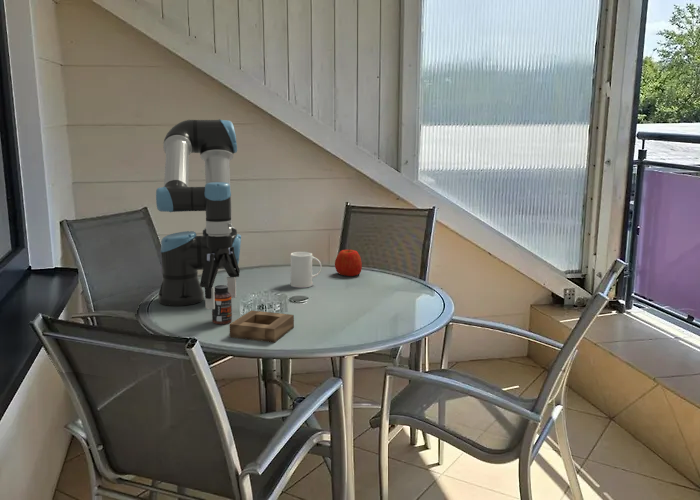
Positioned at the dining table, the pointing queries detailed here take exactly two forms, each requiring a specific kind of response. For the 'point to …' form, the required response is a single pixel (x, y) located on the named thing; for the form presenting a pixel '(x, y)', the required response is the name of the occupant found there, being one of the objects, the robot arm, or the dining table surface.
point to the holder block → (262, 326)
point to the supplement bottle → (222, 305)
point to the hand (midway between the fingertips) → (221, 302)
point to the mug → (302, 269)
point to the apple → (348, 263)
